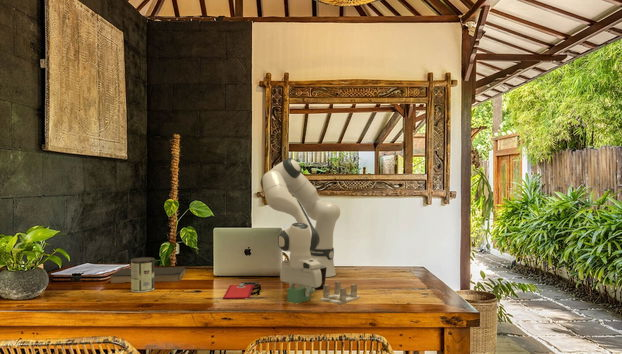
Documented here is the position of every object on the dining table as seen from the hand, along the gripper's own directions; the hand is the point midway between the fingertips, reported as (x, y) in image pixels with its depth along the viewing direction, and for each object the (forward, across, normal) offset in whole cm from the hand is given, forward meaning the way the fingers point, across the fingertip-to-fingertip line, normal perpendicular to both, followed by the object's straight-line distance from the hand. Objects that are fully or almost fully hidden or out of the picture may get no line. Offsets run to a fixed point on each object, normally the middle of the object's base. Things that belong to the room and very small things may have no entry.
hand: (300, 295), depth 200 cm
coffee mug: (+2, -9, +21) cm, 23 cm away
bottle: (+2, 0, +2) cm, 3 cm away
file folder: (+3, -90, -13) cm, 91 cm away
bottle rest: (+2, +12, +12) cm, 17 cm away
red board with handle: (+3, -30, -3) cm, 31 cm away
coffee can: (+2, -68, -31) cm, 75 cm away
